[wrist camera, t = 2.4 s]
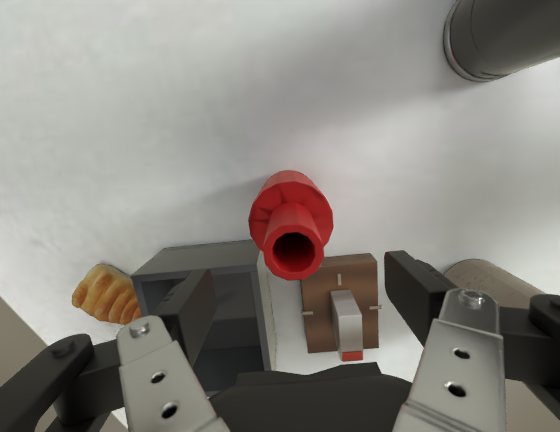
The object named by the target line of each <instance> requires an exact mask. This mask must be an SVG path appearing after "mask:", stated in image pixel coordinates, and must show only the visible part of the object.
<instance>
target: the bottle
mask: <svg viewBox="0 0 560 432" xmlns="http://www.w3.org/2000/svg"><path fill="white" fill-rule="evenodd" d="M248 221H249V228H250V235H251V237H252V239H253V240H254V242H255V244H256V245H257V247H258V248H259V250H261V251H262V252H263V255H264V262H265V264H266V265H267V267H268V268H269V269H270V270H271V272H272V273H273V274H274V275H276V276H278V277H281V278H283V279H286V280H289V281H290V280H301V279H305V278H307V277H308V276H310V275H311V274H313V273H314V272H316V270H318V268H319V266H320V264H321V262H322V260H323V258H324V251H323V247H324V246H325V245H326V244H327V243H328V241H329V238H330V235H331V232H332V230H333V214H332V210H331V208H330V206H329V204H328V202H327V200H326V198H325V196H324V195H323V194H322V193H321V192H320V190H319V189H318V188H317V187H316V186H315V185H314V183H313V182H312V181H311V180H310V179H309V178H308V177H306V176H305V175H304V174H302V173H300V172H297V171H292V170H286V171H281V172H278V173H276V174H274V175H273V176H271V177H270V178H269V179H268V180H267V182H266V183H265V184H264V186H263V187H262V189H261V191H260V192H259V194H258V196H257V198H256V199H255V201H254V203H253V205H252V208H251V212H250V215H249V220H248Z"/></svg>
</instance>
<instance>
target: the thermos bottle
mask: <svg viewBox="0 0 560 432" xmlns="http://www.w3.org/2000/svg"><path fill="white" fill-rule="evenodd" d="M444 276H445V277H446V278H448V279H449V280H450V281H451V282H453V283H454V284H455V285H457V286H458V287H459V288H469V289H474V290H478V291H482V292H485V293H487V294H489V295H491V296H493V297H494V298H495V299H496V300H497V301H498V302H499V305H500V306H503V307H513V308H525V309H529V302H530V298H531V297H532V296H534V295H538V294H546V293H544V292H542V291H541V290H539V289H537V288H535V287H534V286H532V285H530V284H528V283H526V282H525V281H523V280H521V279H519V278H517V277H516V276H514V275H512V274H510V273H508V272H506V271H505V270H503V269H501V268H499V267H497V266H496V265H494V264H492V263H490V262H488V261H485V260H481V259H470V260H465V261H462V262H460V263H458V264H456V265H454V266H453V267H451V268H450V269H449V270H448V271H447V272H446V273H445V274H444ZM522 382H523V381H522ZM523 383H524V382H523ZM526 387H527V386H526ZM527 388H528V387H527ZM528 389H529V388H528ZM529 390H530V389H529ZM530 391H531V390H530ZM531 392H532V391H531ZM532 393H533V392H532ZM533 394H534V393H533ZM534 395H535V394H534ZM535 396H536V395H535ZM536 397H537V396H536ZM537 398H538V397H537ZM538 399H539V398H538ZM539 400H540V399H539ZM540 401H541V400H540Z"/></svg>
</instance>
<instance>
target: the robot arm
mask: <svg viewBox="0 0 560 432" xmlns="http://www.w3.org/2000/svg"><path fill="white" fill-rule="evenodd" d="M444 48H445V53H446V56H447V58H448V61H449V63H450V64H451V66H452V67H453V68H454V70H455V71H456V72H457V73H459V74H460V75H461V76H463V77H465V78H467V79H469V80H473V81H478V82H486V81H492V80H496V79H499V78H502V77H505V76H507V75H509V74H512V73H515V72H518V71H520V70H523V69H526V68H529V67H532V66H535V65H538V64H541V63H544V62H547V61H550V60H553V59H556V58H559V57H560V0H457V1H456V2H455V4H454V5H453V7H452V9H451V11H450V13H449V15H448V18H447V21H446V25H445V30H444ZM384 270H385V289H386V293H387V296H388V298H389V299H390V301H391V302H392V304H393V305H394V306H395V308H396V309H397V311H398V312H399V313H400V315H401V316H402V318H403V319H404V320H405V322H406V323H407V325H408V326H409V327H410V329H411V330H412V332H413V333H414V334H415V336H416V337H417V339H418V340H419V341H420V343H421V344H422V346H423V347H424V349H423V352H422V356H421V359H420V362H419V365H418V368H417V371H416V374H415V377H414V380H413V383H411V382H409V381H406V380H404V379H401V378H398V377H395V376H390V375H386V374H381V371H380V369H379V367H378V365H377V362H371V363H358V364H345V365H339V366H336V367H333V368H330V369H326V370H323V371H320V372H317V373H313V374H310V375H301V374H294V373H287V372H280V371H273V370H269V371H257V372H244V373H238V375H237V380H236V385H234V386H231V387H229V388H226V389H224V390H222V391H220V392H218V393H216V394H215V395H213V396H211V397H210V398H207V396H206V394H205V392H204V390H203V388H202V386H201V384H200V383H199V381H198V379H197V377H196V375H195V373H194V371H193V369H192V368H193V365H194V363H195V361H196V358H197V356H198V354H199V351H200V349H201V347H202V344H203V342H204V340H205V337H206V335H207V333H208V330H209V328H210V326H211V323H212V321H213V319H214V316H215V314H216V311H217V298H216V293H215V287H214V282H213V277H212V272H211V270H210V269H201V270H193V271H192V272H191V273H190V274H189V276H188V277H187V278H186V280H185V281H184V282H181V283H179V284H178V285H176V286H175V287H173V288H172V289H171V290H170V292H169V293H168V294H167V296H165V298H164V299H163V301H162V302H160V304H159V305H158V306H157V307H156V309H155V310H154V311H153V312H152V313H151V315H150V316H146V317H142V318H139V319H136V320H134V321H132V322H130V323H128V324H127V325H125V326H124V327H123V328H122V329H121V330H120V331H119V332H118V333H117V336H116V339H115V340H111V341H108V342H104V343H101V344H97V345H94V346H93V344H92V341H91V338H90V336H89V335H87V334H76V335H72V336H69V337H66V338H64V339H61V340H59V341H57V342H55V343H53V344H52V345H50V346H48V347H47V348H45V349H44V350H43V351H42V352H41V353H39V354H38V355H37V356H36V357H35V358H34V359H32V360H31V361H30V362H29V363H28V364H27V365H26V366H25V367H23V368H22V369H21V370H20V371H19V372H18V373H16V374H15V375H14V376H13V377H12V378H11V379H9V380H8V381H7V382H6V383H5V384H4V385H3V386H1V387H0V432H34V430H35V427H36V425H37V423H38V421H39V419H40V418H41V416H42V415H43V414H44V413H45V412H46V411H47V409H48V408H49V407H50V406H51V405H52V404H53V406H54V408H55V411H56V413H57V417H56V418H55V420H54V421H53V422H52V423H51V425H50V426H49V427H48V428H47V429H46V431H45V432H99V431H100V429H101V428H102V426H103V425H104V423H105V421H106V420H107V418H108V416H109V414H110V413H111V411H114V410H116V409H119V408H122V407H125V412H126V418H127V424H128V431H129V432H507V421H506V396H505V379H511V380H517V381H523V382H524V384H525V385H526V386H527V387H528V388H529V389H530V390H531V391H532V392H533V393H534V394H535V395H536V396H537V397H538V398H539V399H540V400H541V402H542V403H543V404H544V405H545V406H546V407H547V408H548V409H549V410H550V411H551V412H552V413H553V414H554V415H555V416H556V417H557V418H558V419H559V420H560V296H559V295H552V294H538V295H534V296H532V297H531V298H530V302H529V309H525V308H513V307H503V306H500V305H499V302H498V301H497V300H496V299H495V298H494V297H493V296H491V295H489V294H487V293H485V292H482V291H478V290H474V289H469V288H459V287H458V286H457V285H455V284H454V283H453V282H451V281H450V280H449V279H448V278H446V277H445V276H443V275H442V274H441V273H440V272H439V271H436V269H435V268H433V267H432V266H431V265H430V264H428V263H425V262H423V261H420V260H415V259H414V258H413V257H411V256H410V255H409V254H408V253H406V252H405V251H404V250H400V251H390V252H386V253H385V255H384Z"/></svg>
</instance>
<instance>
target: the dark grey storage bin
mask: <svg viewBox="0 0 560 432" xmlns="http://www.w3.org/2000/svg"><path fill="white" fill-rule="evenodd" d="M201 269H210V270H211V272H212V277H213V282H214V287H215V293H216V298H217V311H216V314H215V316H214V319H213V321H212V323H211V326H210V328H209V330H208V333H207V335H206V337H205V340H204V342H203V344H202V347H201V349H200V351H199V354H198V356H197V358H196V361H195V363H194V365H193V368H192V369H193V371H194V373H195V375H196V377H197V379H198V381H199V383H200V384H201V386H202V388H203V390H204V392H205V394H206V396H207V397H211V396H213V395H215V394H216V393H218V392H220V391H222V390H224V389H226V388H229V387H231V386H234V385H236V380H237V375H238V373H244V372H257V371H269V370H273V371H275V370H276V345H277V343H276V336H275V328H274V320H273V313H272V305H271V297H270V290H269V282H268V274H267V267H266V264H265V262H264V255H263V252H262V251H261V250H259V248H258V247H257V245H256V244H255V242H254V240H243V241H232V242H222V243H212V244H201V245H191V246H181V247H170V248H164V249H163V250H161V251H160V252H159V253H158V254H156V255H155V256H154V257H153V258H152V259H150V260H149V261H148V262H147V263H145V264H144V265H143V266H142V267H141V268H139V269H138V270H137V271H136V272H134V273H133V274H132V275H131V279H132V282H133V286H134V290H135V294H136V297H137V301H138V305H139V308H140V312H141V316H142V317H146V316H150V315H151V313H152V312H153V311H154V310H155V309H156V307H157V306H158V305H159V304H160V302H162V301H163V299H164V298H165V296H167V294H168V293H169V292H170V290H171V289H172V288H173V287H175V286H176V285H178V284H179V283H181V282H184V281H185V280H186V278H187V277H188V276H189V274H190V273H191V272H192V271H193V270H201Z"/></svg>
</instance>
